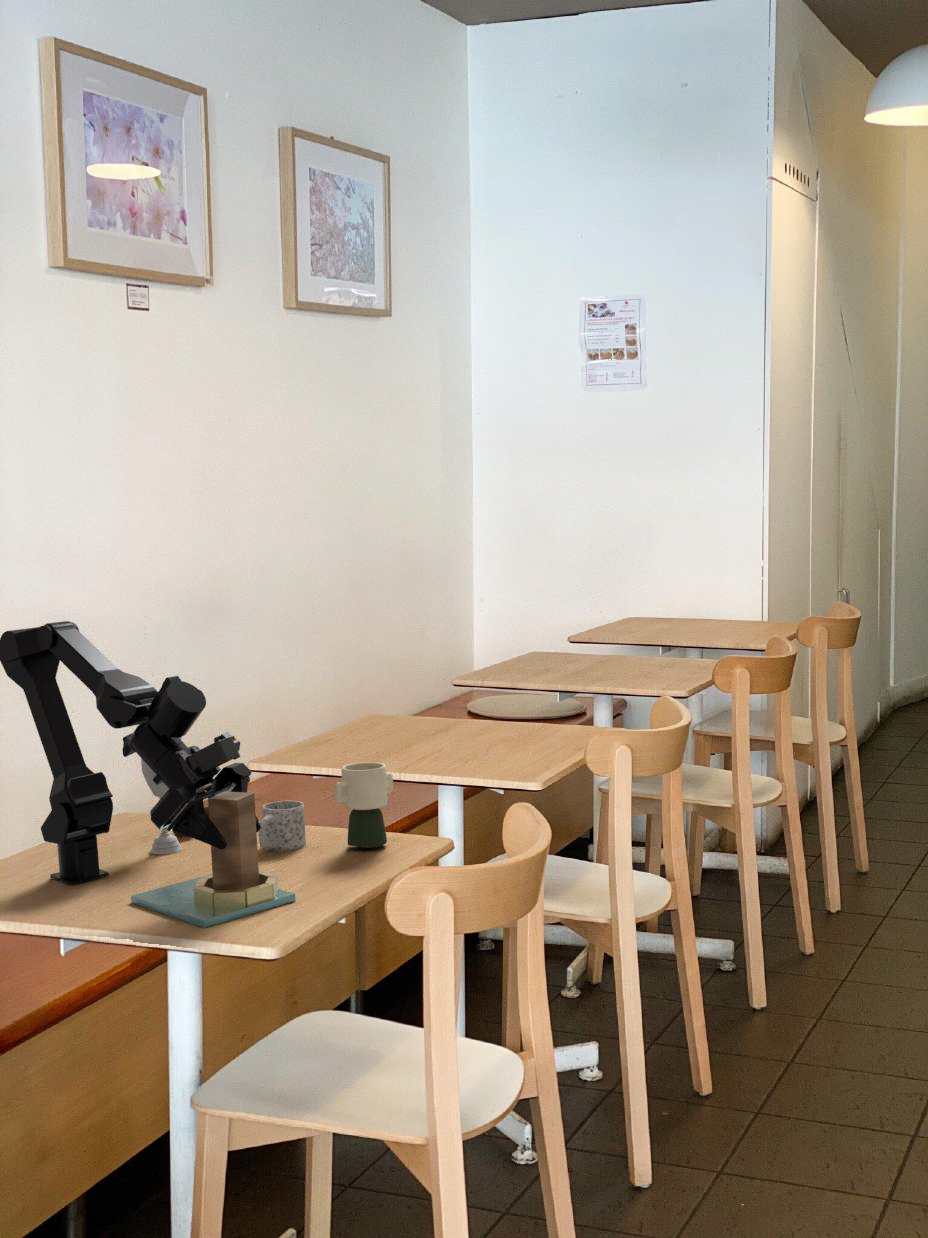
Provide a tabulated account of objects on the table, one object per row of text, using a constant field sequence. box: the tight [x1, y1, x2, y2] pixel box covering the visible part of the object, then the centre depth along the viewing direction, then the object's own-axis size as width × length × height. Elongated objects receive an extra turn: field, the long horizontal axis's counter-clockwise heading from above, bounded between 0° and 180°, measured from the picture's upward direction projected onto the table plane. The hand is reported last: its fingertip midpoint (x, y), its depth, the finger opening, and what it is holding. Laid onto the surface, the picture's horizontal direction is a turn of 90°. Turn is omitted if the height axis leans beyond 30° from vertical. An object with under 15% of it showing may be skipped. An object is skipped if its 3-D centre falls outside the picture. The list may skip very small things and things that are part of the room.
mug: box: [258, 800, 307, 852], centre depth 221 cm, size 10×7×7 cm
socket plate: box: [130, 869, 297, 929], centre depth 193 cm, size 18×15×3 cm
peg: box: [207, 791, 260, 891], centre depth 192 cm, size 5×5×14 cm
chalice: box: [140, 737, 183, 856], centre depth 222 cm, size 7×7×18 cm
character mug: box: [334, 761, 394, 850], centre depth 219 cm, size 11×7×13 cm, turn 130°
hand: (242, 838), depth 191 cm, fingers open, 9 cm apart
